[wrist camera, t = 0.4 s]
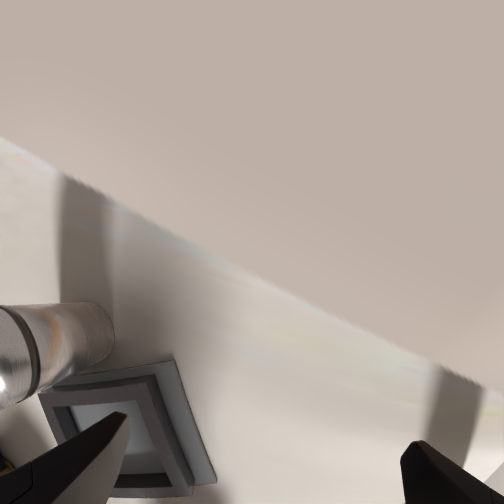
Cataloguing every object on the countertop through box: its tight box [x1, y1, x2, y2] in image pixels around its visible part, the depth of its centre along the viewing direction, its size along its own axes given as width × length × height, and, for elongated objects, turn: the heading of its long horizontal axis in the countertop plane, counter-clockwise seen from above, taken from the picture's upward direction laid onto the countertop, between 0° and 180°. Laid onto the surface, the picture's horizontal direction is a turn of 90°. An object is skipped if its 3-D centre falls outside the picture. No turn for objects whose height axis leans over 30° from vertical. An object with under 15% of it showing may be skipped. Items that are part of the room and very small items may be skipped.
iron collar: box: [38, 374, 195, 498], centre depth 19 cm, size 11×11×2 cm
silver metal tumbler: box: [0, 302, 114, 410], centre depth 16 cm, size 5×5×13 cm
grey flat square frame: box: [41, 360, 217, 486], centre depth 21 cm, size 12×14×1 cm
